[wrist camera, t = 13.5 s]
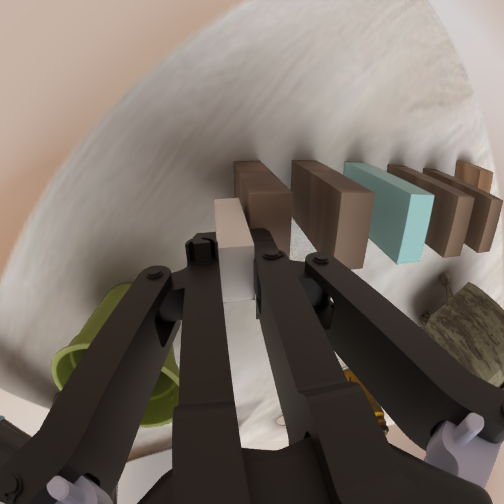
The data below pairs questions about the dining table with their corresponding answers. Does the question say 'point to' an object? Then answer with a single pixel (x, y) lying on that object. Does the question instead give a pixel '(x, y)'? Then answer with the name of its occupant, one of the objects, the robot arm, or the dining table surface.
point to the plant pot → (69, 356)
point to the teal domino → (394, 212)
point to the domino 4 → (475, 211)
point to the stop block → (474, 175)
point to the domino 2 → (332, 211)
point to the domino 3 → (441, 211)
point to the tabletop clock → (470, 331)
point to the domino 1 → (264, 201)
